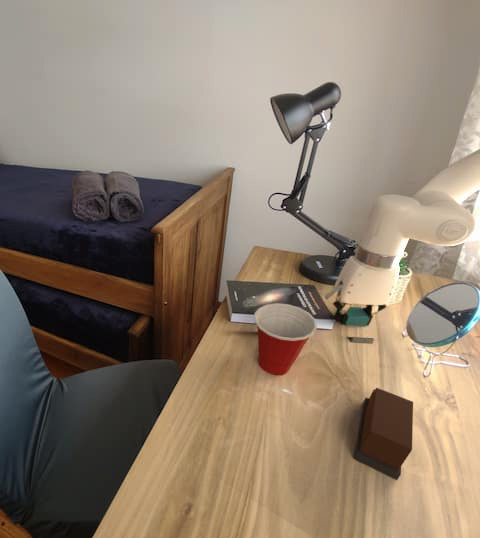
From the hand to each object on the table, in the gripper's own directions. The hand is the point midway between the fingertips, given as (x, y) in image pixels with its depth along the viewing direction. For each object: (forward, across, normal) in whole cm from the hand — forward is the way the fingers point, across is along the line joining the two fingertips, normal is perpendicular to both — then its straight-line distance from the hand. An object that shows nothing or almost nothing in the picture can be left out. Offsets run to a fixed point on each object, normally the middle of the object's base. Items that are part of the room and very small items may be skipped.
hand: (350, 324), depth 83 cm
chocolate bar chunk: (0, +8, +30) cm, 31 cm away
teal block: (0, 0, +2) cm, 2 cm away
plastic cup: (+1, +21, +14) cm, 26 cm away
